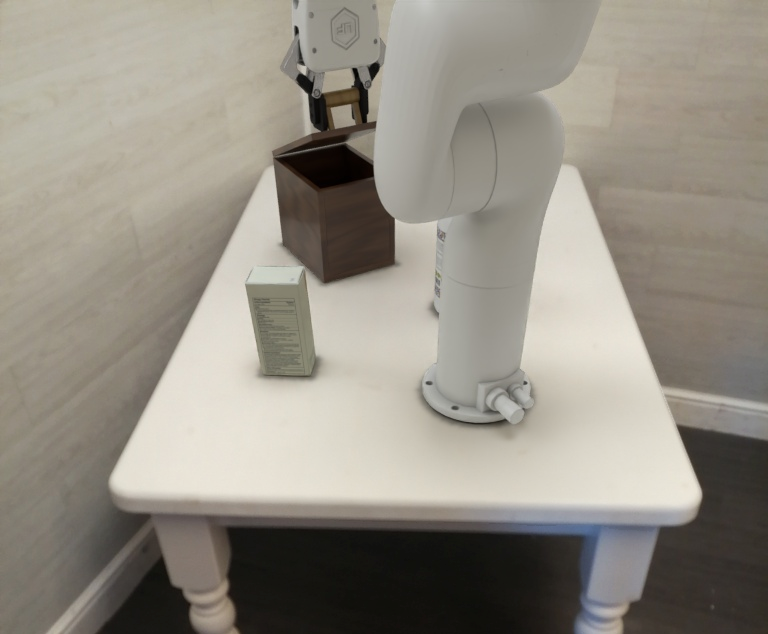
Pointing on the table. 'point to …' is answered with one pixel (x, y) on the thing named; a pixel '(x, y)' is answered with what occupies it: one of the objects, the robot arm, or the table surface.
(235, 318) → the table surface
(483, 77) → the robot arm
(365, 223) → the chest
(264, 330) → the cosmetic box
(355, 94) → the lid
